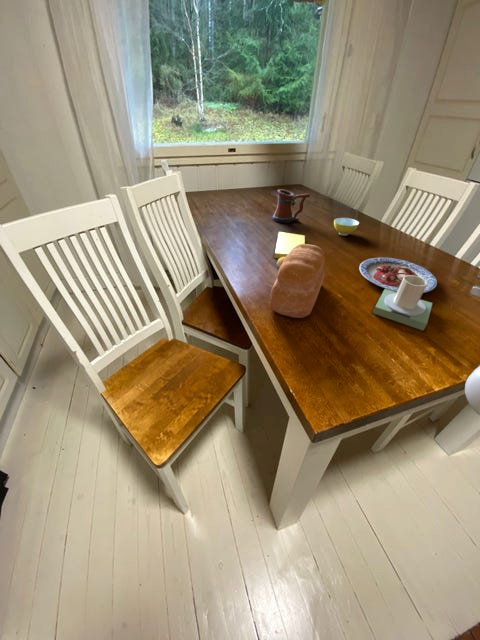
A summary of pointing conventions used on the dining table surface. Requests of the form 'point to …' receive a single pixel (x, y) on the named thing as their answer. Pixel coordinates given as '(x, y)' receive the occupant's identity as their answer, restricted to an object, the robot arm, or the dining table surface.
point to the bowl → (345, 225)
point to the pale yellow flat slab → (287, 243)
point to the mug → (287, 206)
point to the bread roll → (280, 262)
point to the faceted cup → (410, 291)
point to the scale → (403, 311)
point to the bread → (298, 281)
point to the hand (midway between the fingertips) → (475, 281)
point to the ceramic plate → (394, 273)
